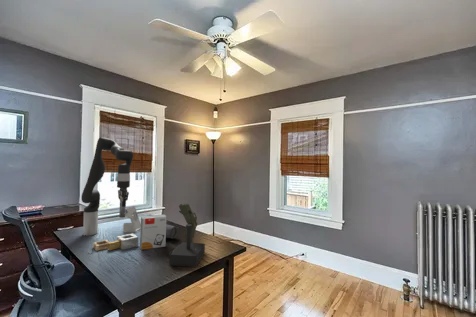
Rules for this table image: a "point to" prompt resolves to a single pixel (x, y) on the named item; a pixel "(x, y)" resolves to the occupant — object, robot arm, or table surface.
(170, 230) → the bluetooth speaker
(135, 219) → the phone holder
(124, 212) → the grey metal cylinder
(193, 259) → the joystick
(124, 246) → the socket block
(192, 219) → the olive green upright piece
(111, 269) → the table surface
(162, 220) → the hard drive box
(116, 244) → the bar
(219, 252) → the table surface
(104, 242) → the wooden square frame
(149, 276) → the table surface
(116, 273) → the table surface
